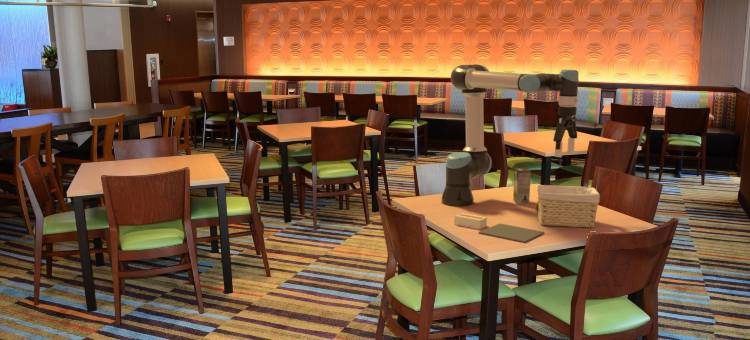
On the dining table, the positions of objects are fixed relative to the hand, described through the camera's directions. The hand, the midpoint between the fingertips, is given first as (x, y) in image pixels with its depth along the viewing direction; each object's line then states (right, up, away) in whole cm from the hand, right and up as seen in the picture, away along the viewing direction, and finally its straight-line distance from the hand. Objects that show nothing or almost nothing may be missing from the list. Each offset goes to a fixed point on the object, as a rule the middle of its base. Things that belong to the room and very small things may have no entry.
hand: (564, 154), depth 285 cm
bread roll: (-5, -25, +12) cm, 29 cm away
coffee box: (-13, -22, +28) cm, 38 cm away
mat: (-28, -32, -25) cm, 49 cm away
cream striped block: (-43, -30, -13) cm, 54 cm away
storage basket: (-2, -29, -9) cm, 31 cm away
